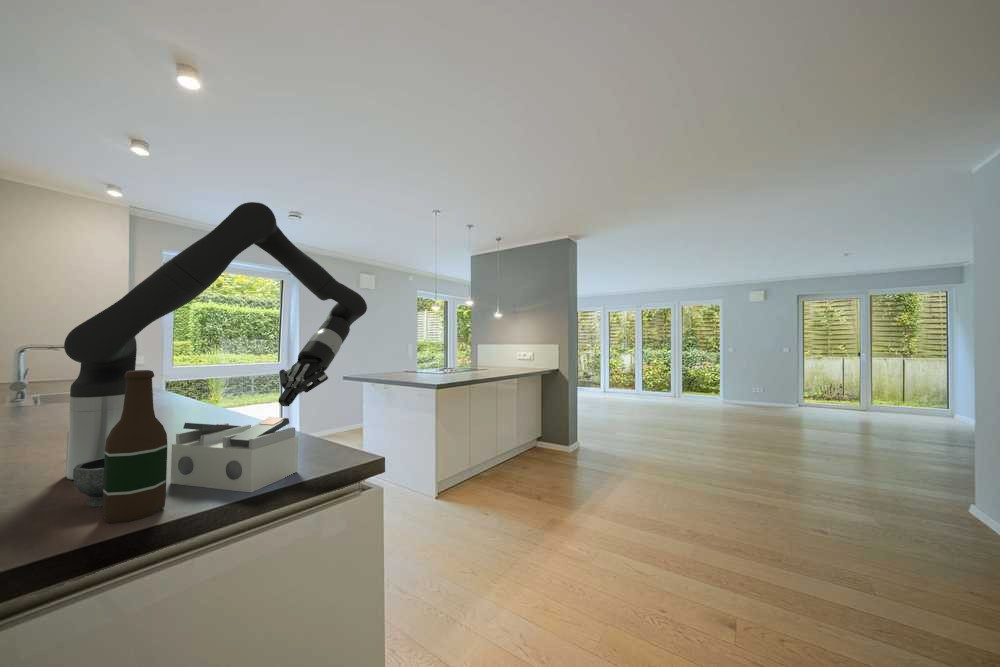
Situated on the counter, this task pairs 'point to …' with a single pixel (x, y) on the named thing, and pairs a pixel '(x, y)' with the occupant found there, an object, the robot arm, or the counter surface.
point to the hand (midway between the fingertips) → (283, 404)
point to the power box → (233, 459)
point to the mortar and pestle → (90, 480)
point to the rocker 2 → (259, 430)
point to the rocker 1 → (208, 426)
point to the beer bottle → (135, 456)
